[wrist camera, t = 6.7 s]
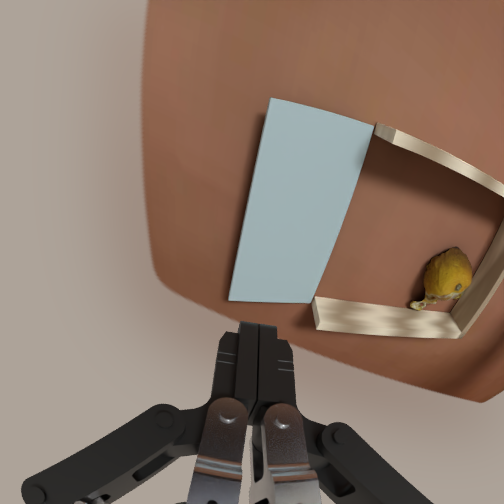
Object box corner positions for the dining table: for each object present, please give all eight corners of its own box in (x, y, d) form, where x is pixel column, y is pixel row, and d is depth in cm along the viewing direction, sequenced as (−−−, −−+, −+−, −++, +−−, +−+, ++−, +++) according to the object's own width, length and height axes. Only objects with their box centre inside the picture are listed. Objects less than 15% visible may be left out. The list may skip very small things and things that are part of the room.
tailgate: (374, 126, 18) (271, 97, 17) (310, 303, 28) (228, 300, 26) (371, 125, 19) (269, 97, 17) (309, 300, 28) (228, 297, 26)
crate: (518, 194, 20) (538, 208, 17) (450, 319, 30) (461, 338, 27) (377, 122, 19) (396, 129, 16) (311, 303, 28) (316, 329, 25)
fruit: (407, 312, 29) (418, 335, 26) (411, 253, 25) (427, 276, 22) (463, 293, 28) (476, 313, 25) (474, 235, 24) (492, 254, 21)
